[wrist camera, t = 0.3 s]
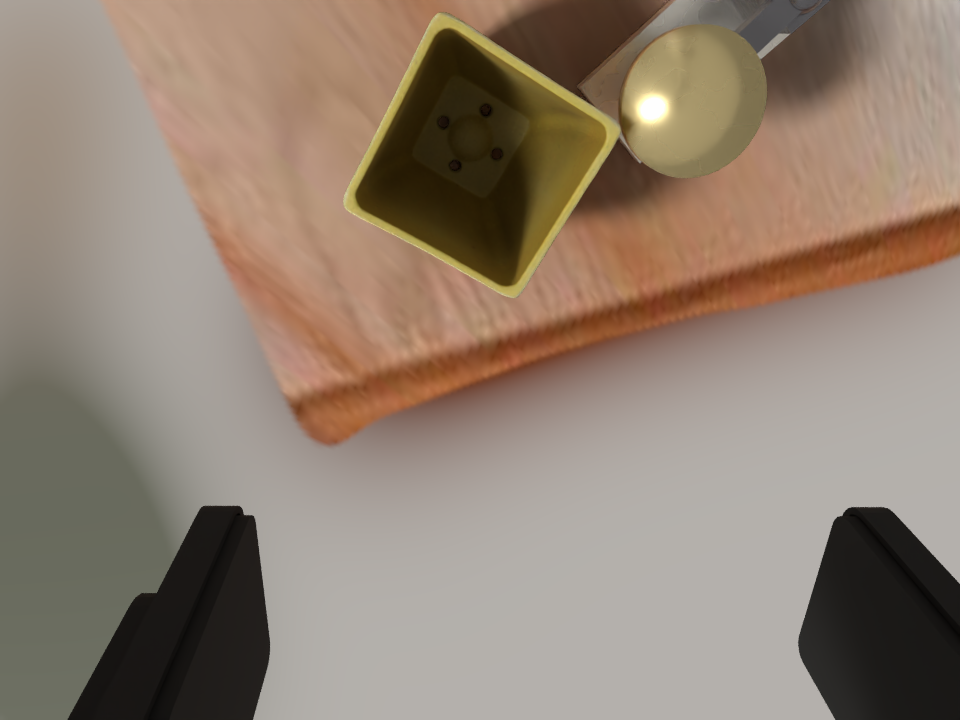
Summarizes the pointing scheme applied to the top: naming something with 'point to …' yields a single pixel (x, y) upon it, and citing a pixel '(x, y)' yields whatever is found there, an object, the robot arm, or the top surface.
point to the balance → (694, 81)
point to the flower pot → (479, 158)
